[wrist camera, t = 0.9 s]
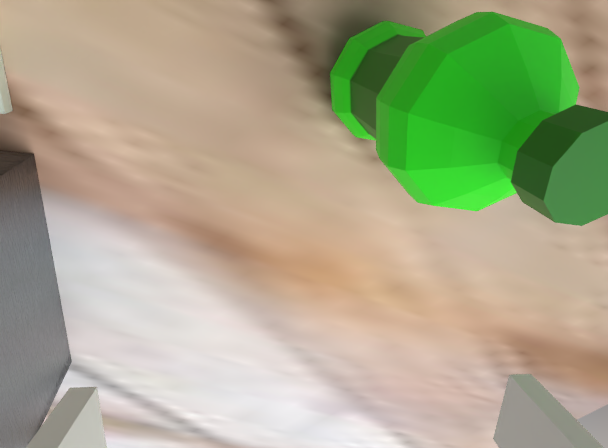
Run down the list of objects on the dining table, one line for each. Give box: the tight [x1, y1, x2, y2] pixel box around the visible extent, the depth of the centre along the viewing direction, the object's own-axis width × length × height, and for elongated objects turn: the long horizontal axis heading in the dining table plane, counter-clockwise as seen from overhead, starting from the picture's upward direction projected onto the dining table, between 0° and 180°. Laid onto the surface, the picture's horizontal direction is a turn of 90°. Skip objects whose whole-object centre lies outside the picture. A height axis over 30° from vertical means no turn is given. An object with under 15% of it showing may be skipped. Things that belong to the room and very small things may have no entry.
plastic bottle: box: [330, 12, 608, 226], centre depth 24 cm, size 10×10×25 cm
